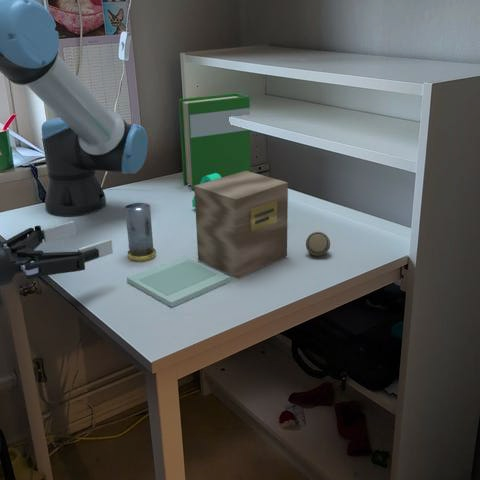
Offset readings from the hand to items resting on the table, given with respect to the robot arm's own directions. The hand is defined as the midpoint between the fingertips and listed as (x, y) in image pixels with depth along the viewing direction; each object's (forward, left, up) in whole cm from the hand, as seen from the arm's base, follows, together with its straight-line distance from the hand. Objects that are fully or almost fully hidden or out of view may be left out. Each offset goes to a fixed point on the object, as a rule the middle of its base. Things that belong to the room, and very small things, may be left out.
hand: (92, 236), depth 117 cm
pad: (+15, +9, -8) cm, 19 cm away
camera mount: (-8, +40, -8) cm, 42 cm away
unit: (+16, +25, -8) cm, 31 cm away
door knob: (+26, +37, -8) cm, 46 cm away
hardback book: (-26, +55, -8) cm, 61 cm away
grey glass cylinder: (0, +11, -8) cm, 13 cm away
